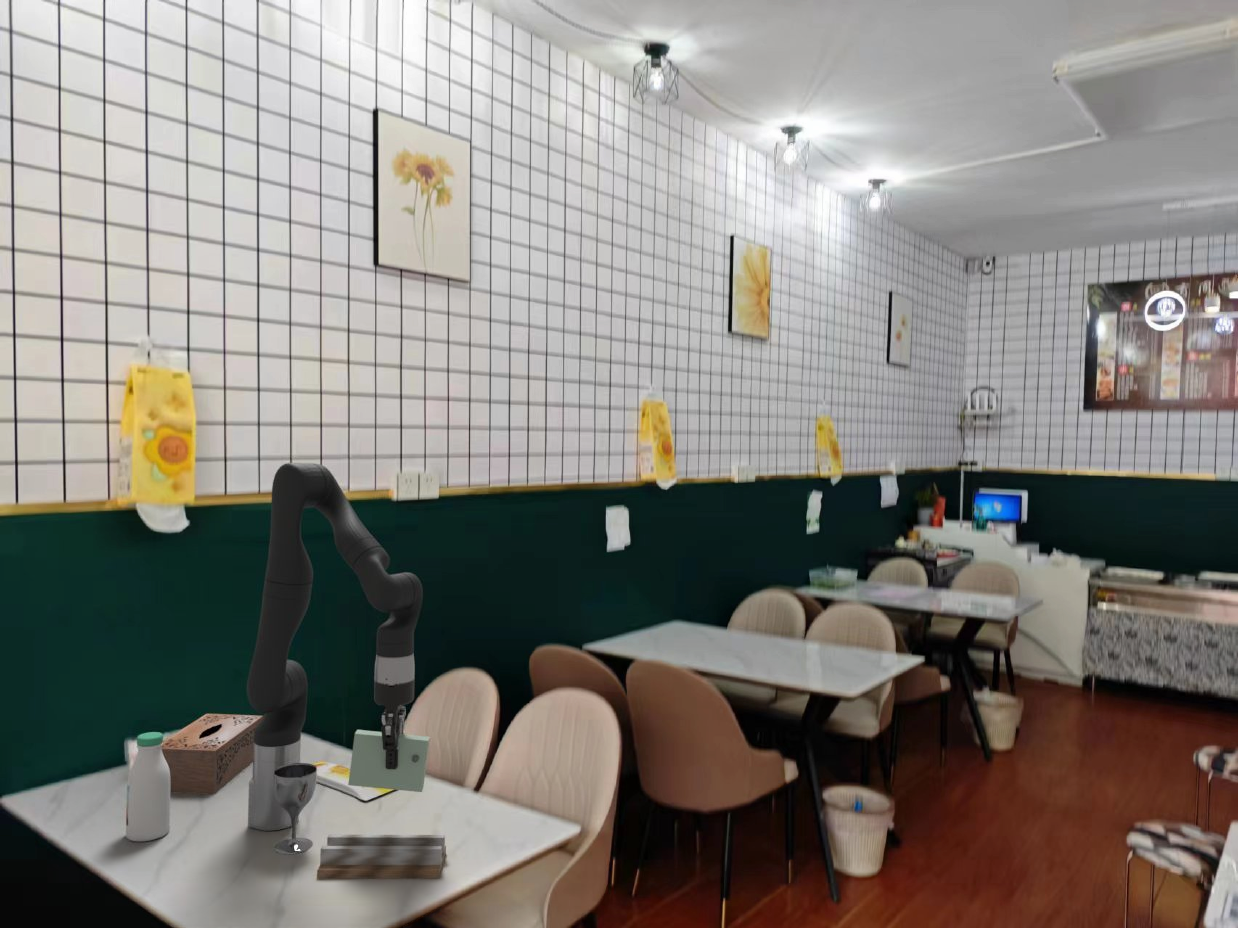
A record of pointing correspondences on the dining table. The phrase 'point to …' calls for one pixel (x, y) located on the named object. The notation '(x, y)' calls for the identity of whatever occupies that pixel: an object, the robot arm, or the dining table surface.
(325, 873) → the door track
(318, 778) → the food package
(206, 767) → the tissue box cover
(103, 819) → the dining table surface
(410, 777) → the door panel
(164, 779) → the milk bottle
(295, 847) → the wine glass
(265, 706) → the robot arm
